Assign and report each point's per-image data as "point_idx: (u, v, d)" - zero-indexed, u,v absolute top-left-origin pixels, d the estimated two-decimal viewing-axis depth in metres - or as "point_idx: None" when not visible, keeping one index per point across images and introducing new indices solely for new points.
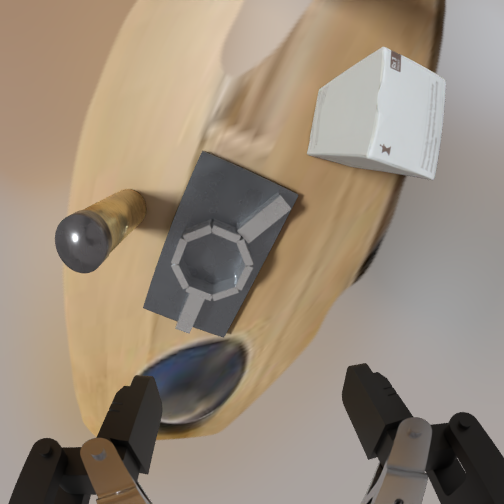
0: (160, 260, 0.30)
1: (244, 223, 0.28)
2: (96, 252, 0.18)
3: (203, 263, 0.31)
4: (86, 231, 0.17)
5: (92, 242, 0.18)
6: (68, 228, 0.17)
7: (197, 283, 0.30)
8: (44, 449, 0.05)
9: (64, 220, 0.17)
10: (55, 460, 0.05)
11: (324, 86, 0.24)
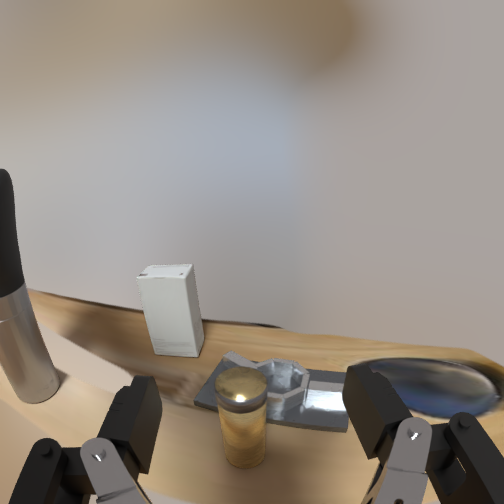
0: (290, 420, 0.29)
1: None
2: (245, 371, 0.23)
3: (285, 394, 0.34)
4: (228, 376, 0.23)
5: (237, 373, 0.23)
6: (225, 389, 0.21)
7: None
8: (44, 449, 0.05)
9: (218, 391, 0.21)
10: (55, 460, 0.05)
11: (153, 345, 0.43)
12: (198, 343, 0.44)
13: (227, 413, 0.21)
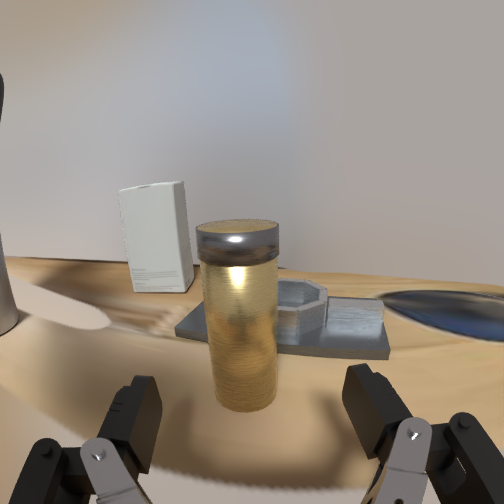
0: (309, 345, 0.23)
1: None
2: (244, 220, 0.17)
3: None
4: (218, 223, 0.16)
5: (232, 221, 0.17)
6: (213, 228, 0.15)
7: None
8: (44, 449, 0.05)
9: (201, 230, 0.14)
10: (55, 460, 0.05)
11: (132, 279, 0.36)
12: (186, 275, 0.37)
13: (214, 274, 0.14)
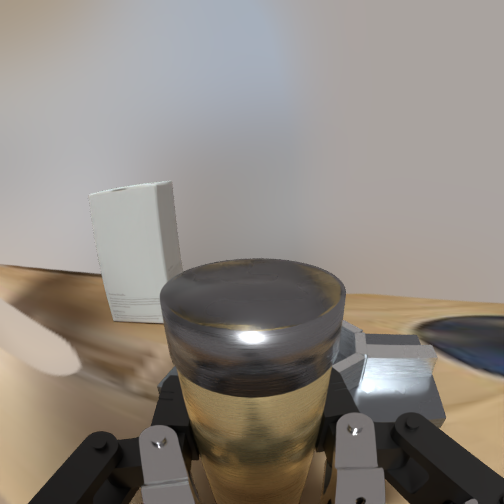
0: None
1: None
2: (264, 264, 0.09)
3: None
4: (210, 274, 0.08)
5: (239, 268, 0.08)
6: (199, 300, 0.06)
7: None
8: (99, 443, 0.06)
9: (169, 307, 0.06)
10: (112, 453, 0.06)
11: (110, 306, 0.28)
12: None
13: (204, 400, 0.06)
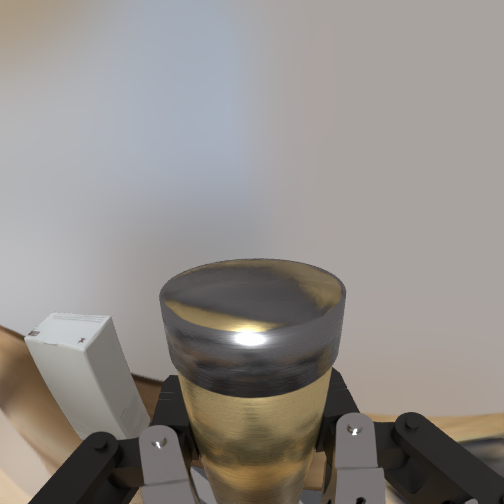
0: None
1: (202, 501, 0.15)
2: (264, 264, 0.09)
3: None
4: (210, 274, 0.08)
5: (239, 268, 0.08)
6: (198, 300, 0.06)
7: None
8: (99, 443, 0.06)
9: (169, 307, 0.06)
10: (112, 453, 0.06)
11: (74, 429, 0.21)
12: (135, 435, 0.22)
13: (204, 401, 0.06)
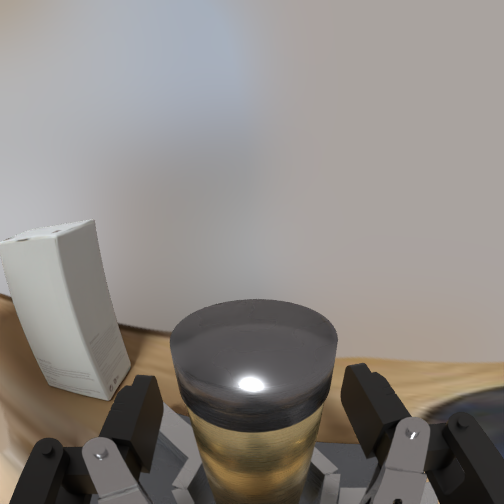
0: None
1: (180, 453, 0.13)
2: (264, 307, 0.09)
3: None
4: (215, 319, 0.08)
5: (241, 312, 0.09)
6: (206, 349, 0.07)
7: None
8: (46, 449, 0.05)
9: (179, 357, 0.06)
10: (57, 460, 0.05)
11: (42, 370, 0.19)
12: (109, 375, 0.20)
13: (211, 432, 0.06)
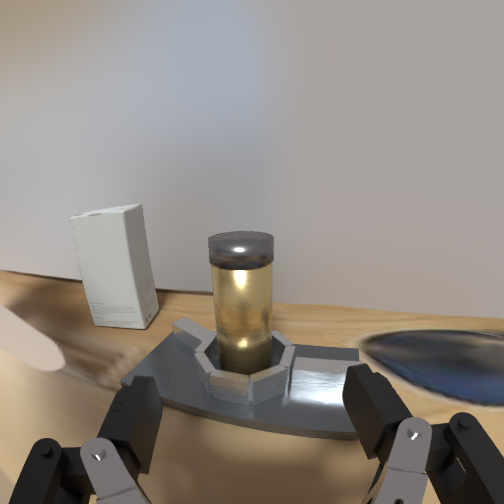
0: (262, 420, 0.17)
1: (198, 342, 0.25)
2: (246, 232, 0.21)
3: None
4: (225, 235, 0.21)
5: (236, 233, 0.21)
6: (222, 240, 0.19)
7: None
8: (44, 449, 0.05)
9: (213, 242, 0.19)
10: (55, 460, 0.05)
11: (92, 312, 0.31)
12: (146, 310, 0.32)
13: (223, 276, 0.19)
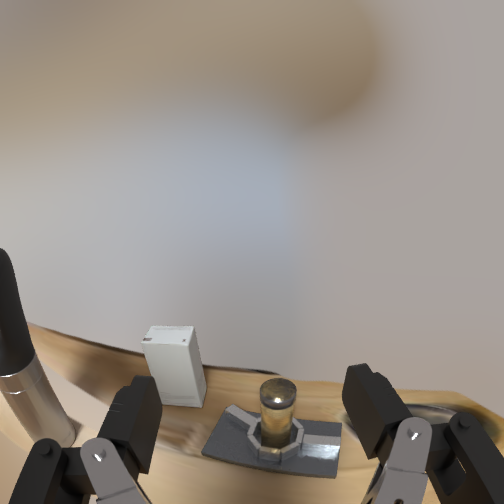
0: (286, 469, 0.30)
1: (245, 424, 0.38)
2: (280, 381, 0.34)
3: None
4: (268, 385, 0.33)
5: (274, 383, 0.33)
6: (269, 394, 0.31)
7: None
8: (44, 449, 0.05)
9: (264, 396, 0.31)
10: (55, 460, 0.05)
11: (160, 397, 0.43)
12: (202, 395, 0.45)
13: (269, 411, 0.31)
